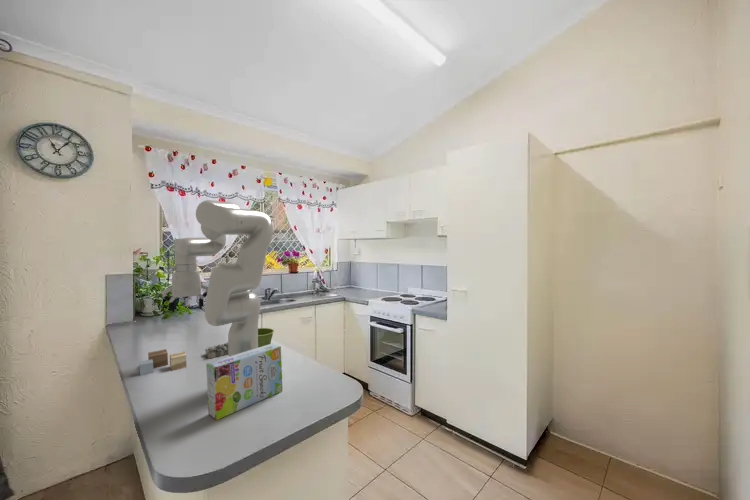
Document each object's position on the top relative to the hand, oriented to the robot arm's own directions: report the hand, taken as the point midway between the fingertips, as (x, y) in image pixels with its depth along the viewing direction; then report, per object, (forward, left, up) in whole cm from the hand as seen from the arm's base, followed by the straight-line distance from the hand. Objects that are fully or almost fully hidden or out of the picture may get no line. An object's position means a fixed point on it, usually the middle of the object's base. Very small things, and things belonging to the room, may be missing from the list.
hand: (187, 310), depth 127 cm
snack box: (-50, -9, -22) cm, 55 cm away
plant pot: (-16, -24, -22) cm, 36 cm away
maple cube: (-4, +4, -22) cm, 22 cm away
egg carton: (+1, -12, -22) cm, 25 cm away
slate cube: (-2, +14, -22) cm, 26 cm away
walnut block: (+4, +10, -22) cm, 24 cm away
